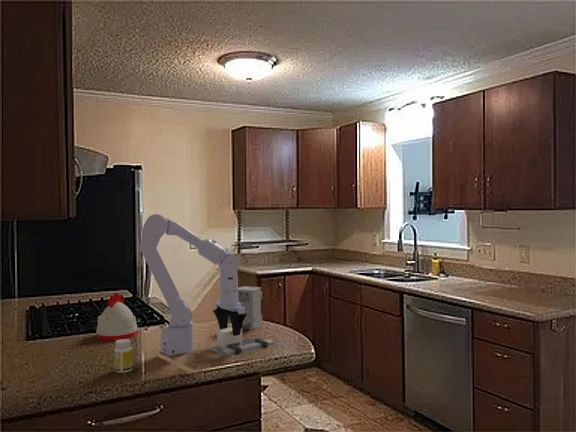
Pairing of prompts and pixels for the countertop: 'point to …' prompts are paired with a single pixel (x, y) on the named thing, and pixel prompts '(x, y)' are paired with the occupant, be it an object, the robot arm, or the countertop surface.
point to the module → (228, 338)
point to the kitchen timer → (116, 321)
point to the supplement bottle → (123, 356)
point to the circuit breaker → (250, 306)
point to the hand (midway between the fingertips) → (230, 332)
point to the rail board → (244, 346)
